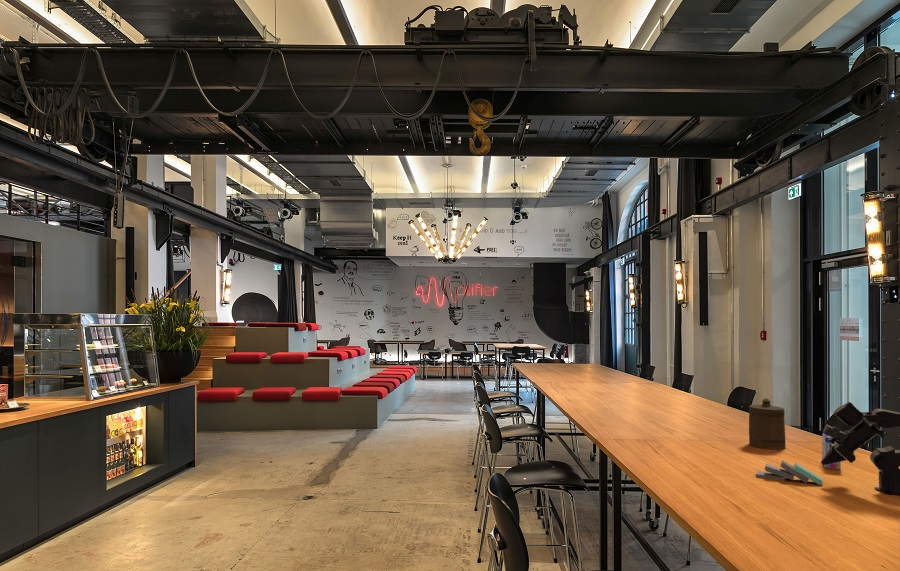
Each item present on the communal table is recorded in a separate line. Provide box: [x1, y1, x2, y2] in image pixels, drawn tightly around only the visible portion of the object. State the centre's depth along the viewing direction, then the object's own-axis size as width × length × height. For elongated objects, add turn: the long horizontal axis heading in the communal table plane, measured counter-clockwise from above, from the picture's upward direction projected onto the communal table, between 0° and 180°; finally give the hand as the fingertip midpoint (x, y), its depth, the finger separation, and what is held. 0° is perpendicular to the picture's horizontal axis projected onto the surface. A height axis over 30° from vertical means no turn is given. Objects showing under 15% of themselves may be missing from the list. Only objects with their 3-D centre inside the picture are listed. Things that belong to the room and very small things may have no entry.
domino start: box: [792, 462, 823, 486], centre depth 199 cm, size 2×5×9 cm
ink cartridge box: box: [821, 433, 842, 471], centre depth 222 cm, size 10×6×14 cm, turn 152°
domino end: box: [755, 470, 786, 481], centre depth 204 cm, size 2×5×9 cm
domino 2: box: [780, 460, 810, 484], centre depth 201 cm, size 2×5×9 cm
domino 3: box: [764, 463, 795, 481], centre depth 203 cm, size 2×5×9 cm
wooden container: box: [748, 398, 787, 450], centre depth 258 cm, size 15×15×22 cm
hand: (821, 463), depth 197 cm, fingers closed
